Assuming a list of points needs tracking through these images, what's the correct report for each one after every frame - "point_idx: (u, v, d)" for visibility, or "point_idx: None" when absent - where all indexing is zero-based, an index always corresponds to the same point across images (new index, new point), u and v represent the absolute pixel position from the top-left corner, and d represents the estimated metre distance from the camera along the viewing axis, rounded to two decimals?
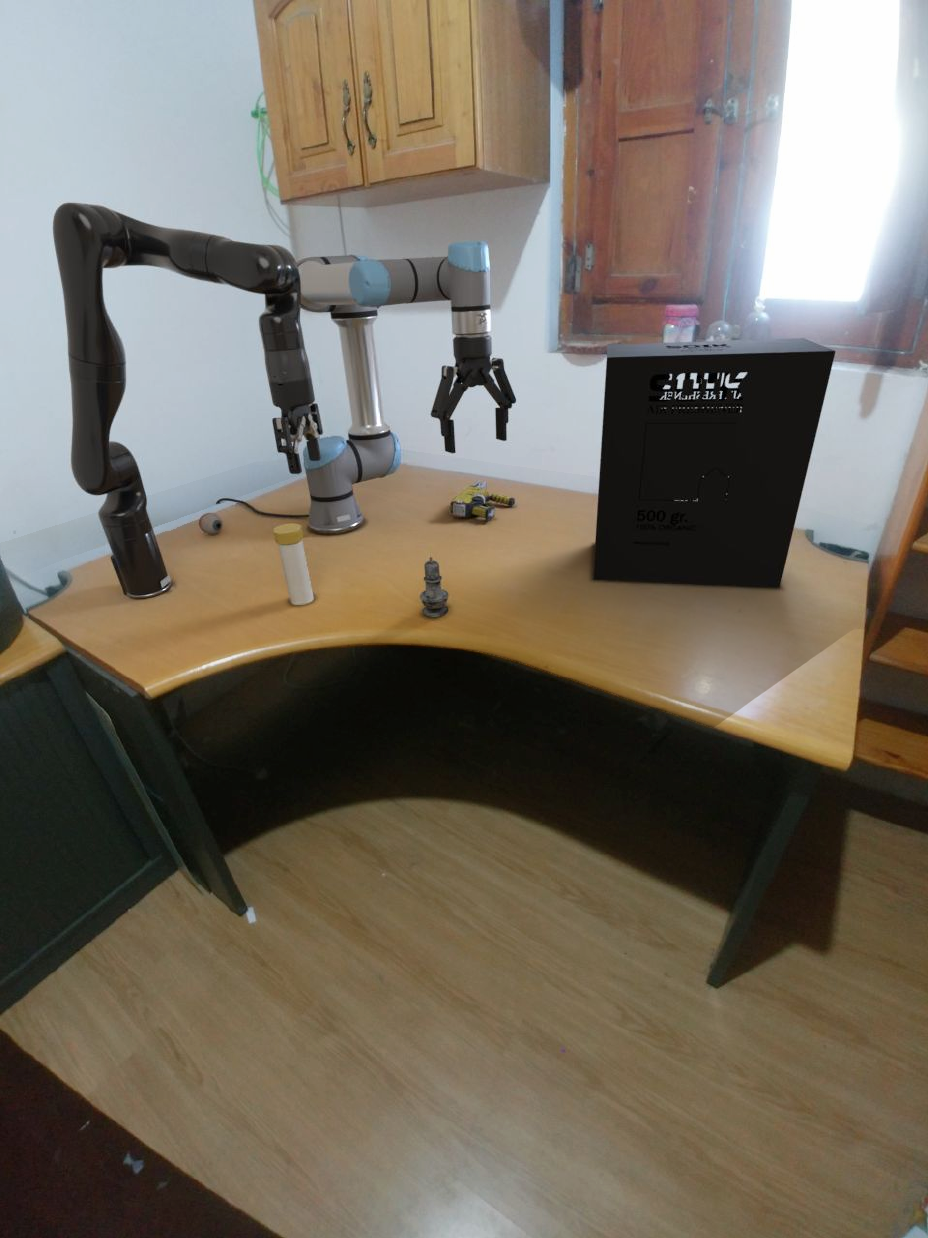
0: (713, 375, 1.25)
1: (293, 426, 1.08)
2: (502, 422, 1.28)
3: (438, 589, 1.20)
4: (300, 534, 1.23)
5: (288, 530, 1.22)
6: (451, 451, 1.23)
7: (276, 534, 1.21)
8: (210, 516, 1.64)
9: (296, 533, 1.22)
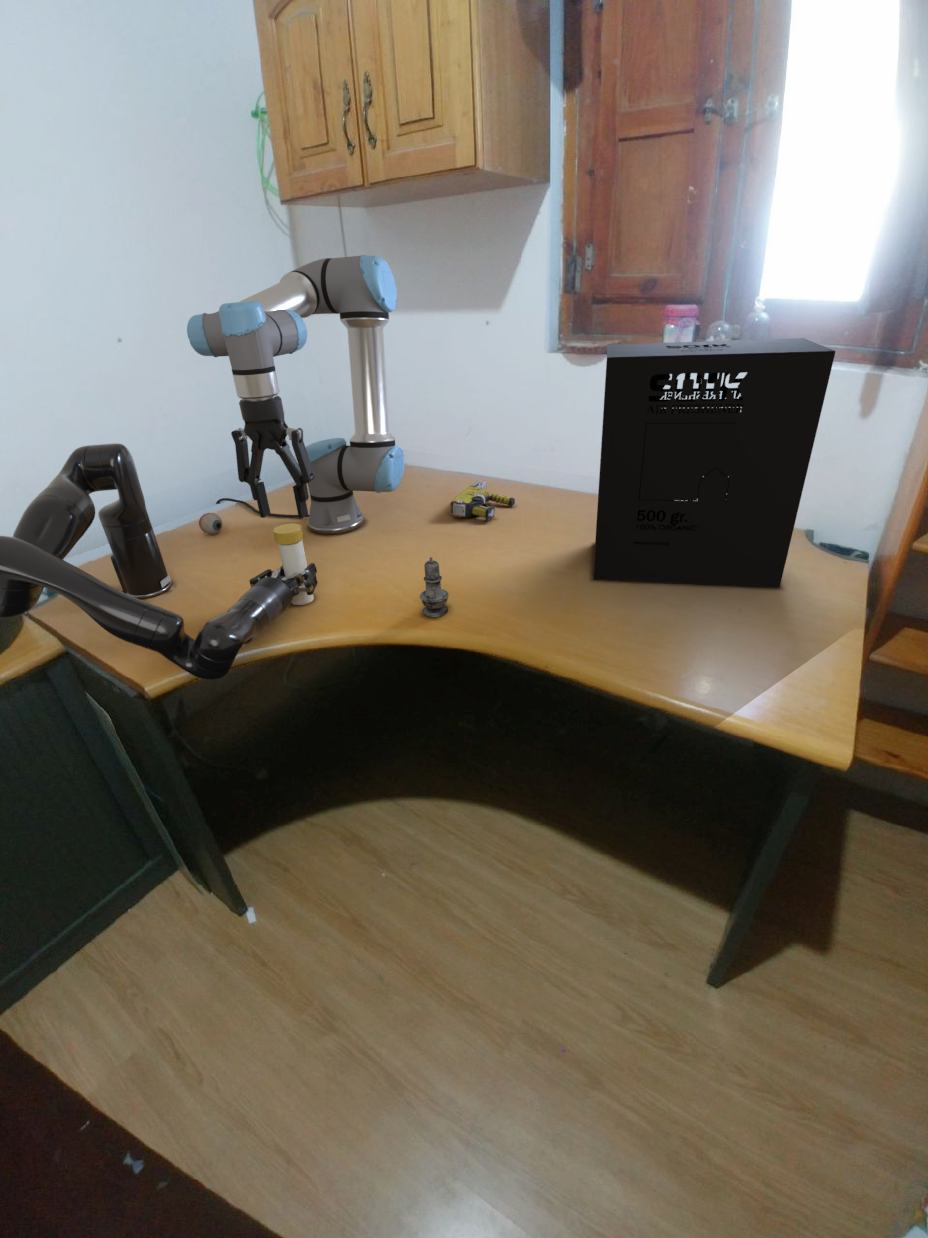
0: (713, 375, 1.25)
1: (297, 582, 1.21)
2: (265, 495, 1.21)
3: (438, 589, 1.20)
4: (300, 534, 1.23)
5: (288, 530, 1.22)
6: (307, 512, 1.21)
7: (276, 534, 1.21)
8: (210, 516, 1.64)
9: (296, 533, 1.22)
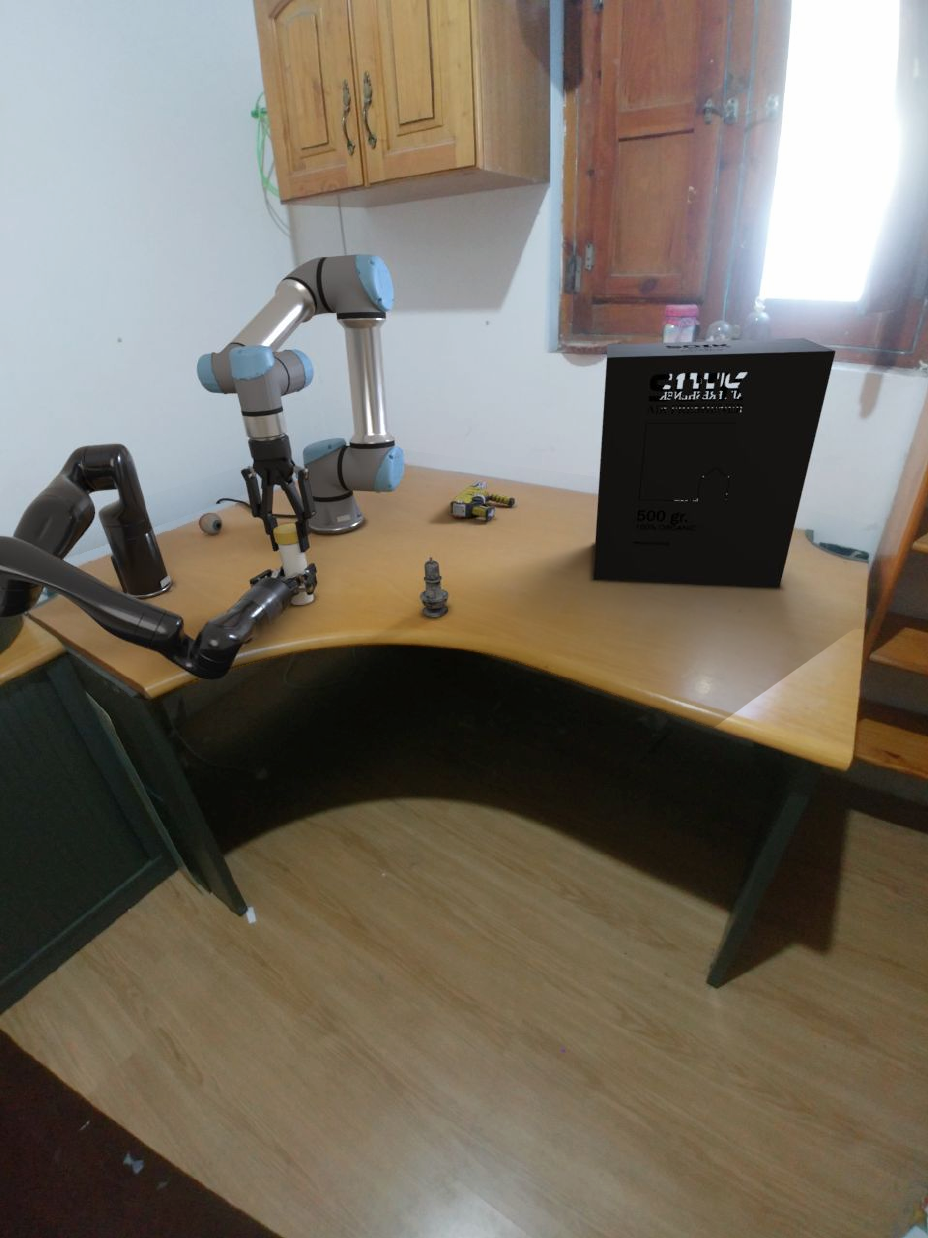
0: (713, 375, 1.25)
1: (297, 582, 1.21)
2: None
3: (438, 589, 1.20)
4: None
5: (288, 530, 1.22)
6: (309, 546, 1.25)
7: (276, 534, 1.21)
8: (210, 516, 1.64)
9: (296, 533, 1.22)
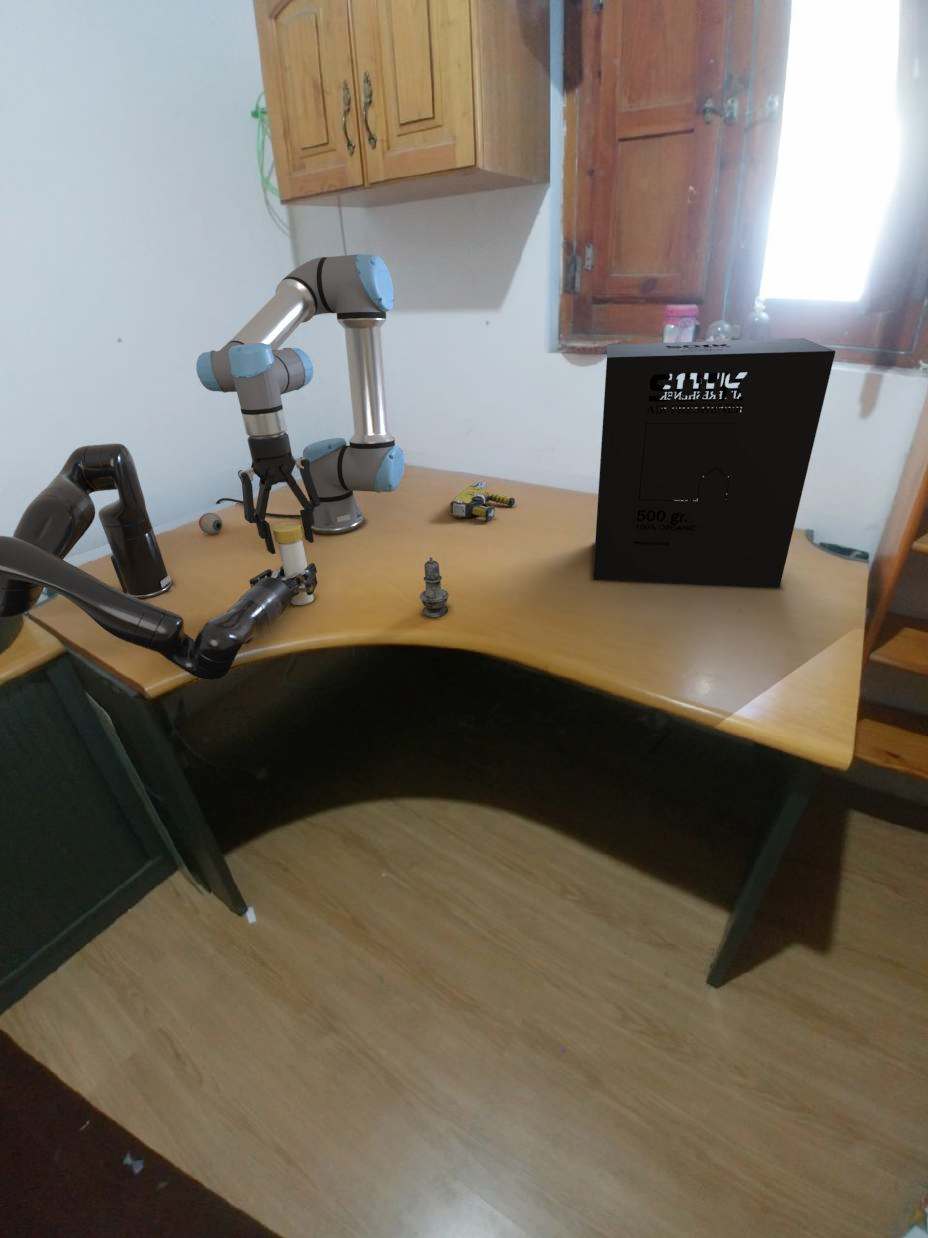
0: (713, 375, 1.25)
1: (297, 582, 1.21)
2: None
3: (438, 589, 1.20)
4: None
5: (292, 524, 1.23)
6: None
7: (298, 529, 1.22)
8: (210, 516, 1.64)
9: None
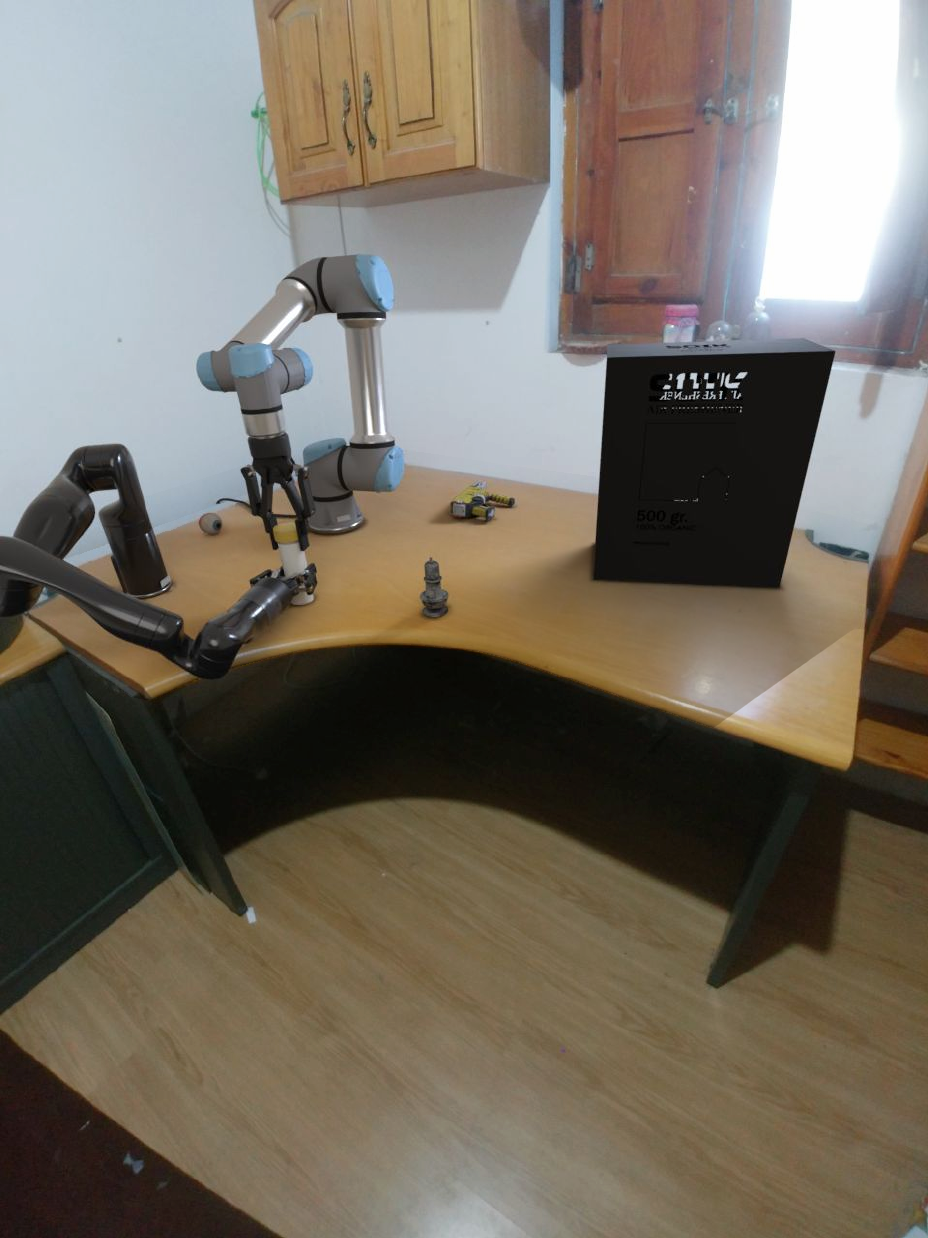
0: (713, 375, 1.25)
1: (297, 582, 1.21)
2: None
3: (438, 589, 1.20)
4: None
5: (292, 524, 1.23)
6: (308, 545, 1.25)
7: None
8: (210, 516, 1.64)
9: None
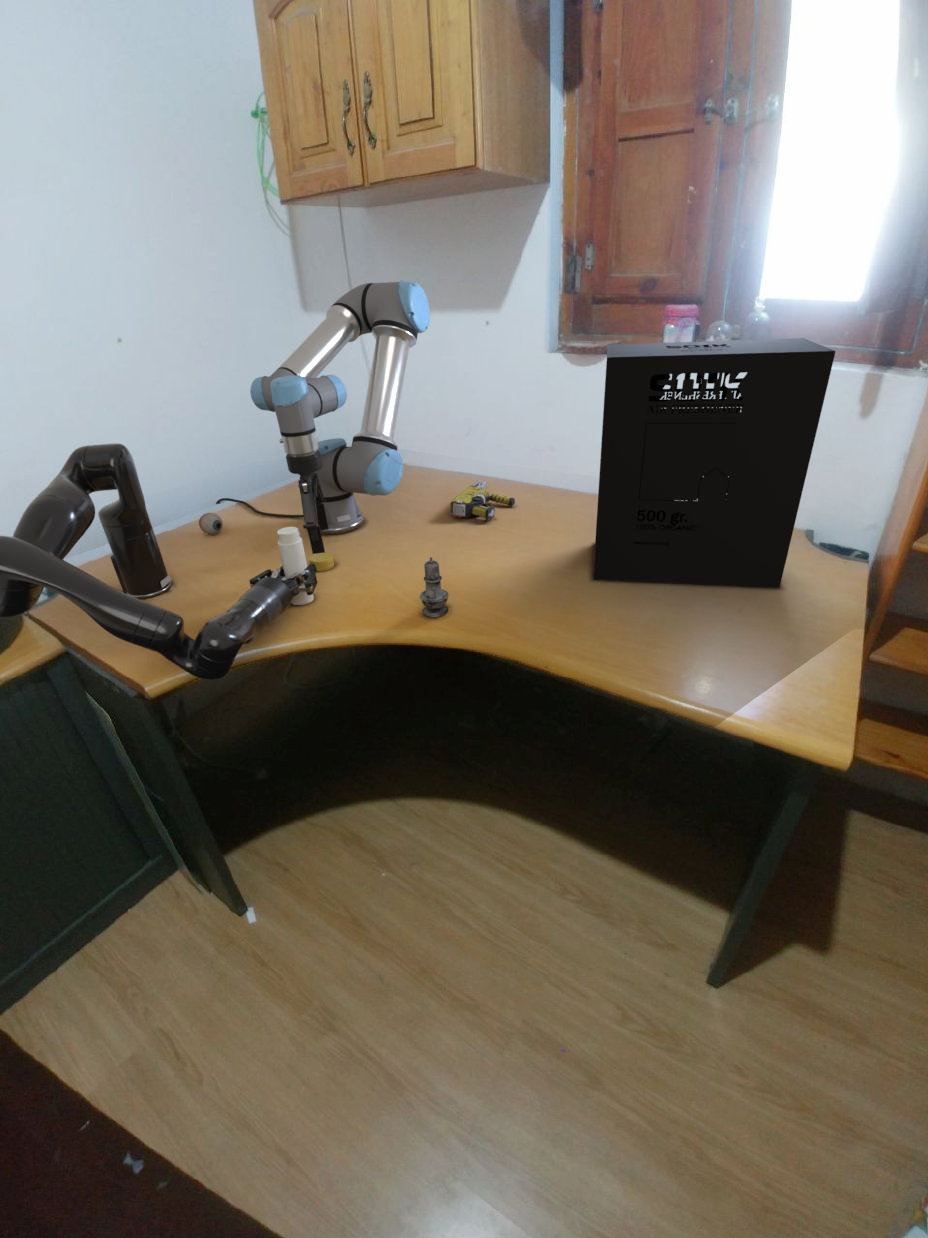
0: (713, 375, 1.25)
1: (297, 582, 1.21)
2: None
3: (438, 589, 1.20)
4: None
5: (316, 556, 1.45)
6: None
7: None
8: (210, 516, 1.64)
9: None
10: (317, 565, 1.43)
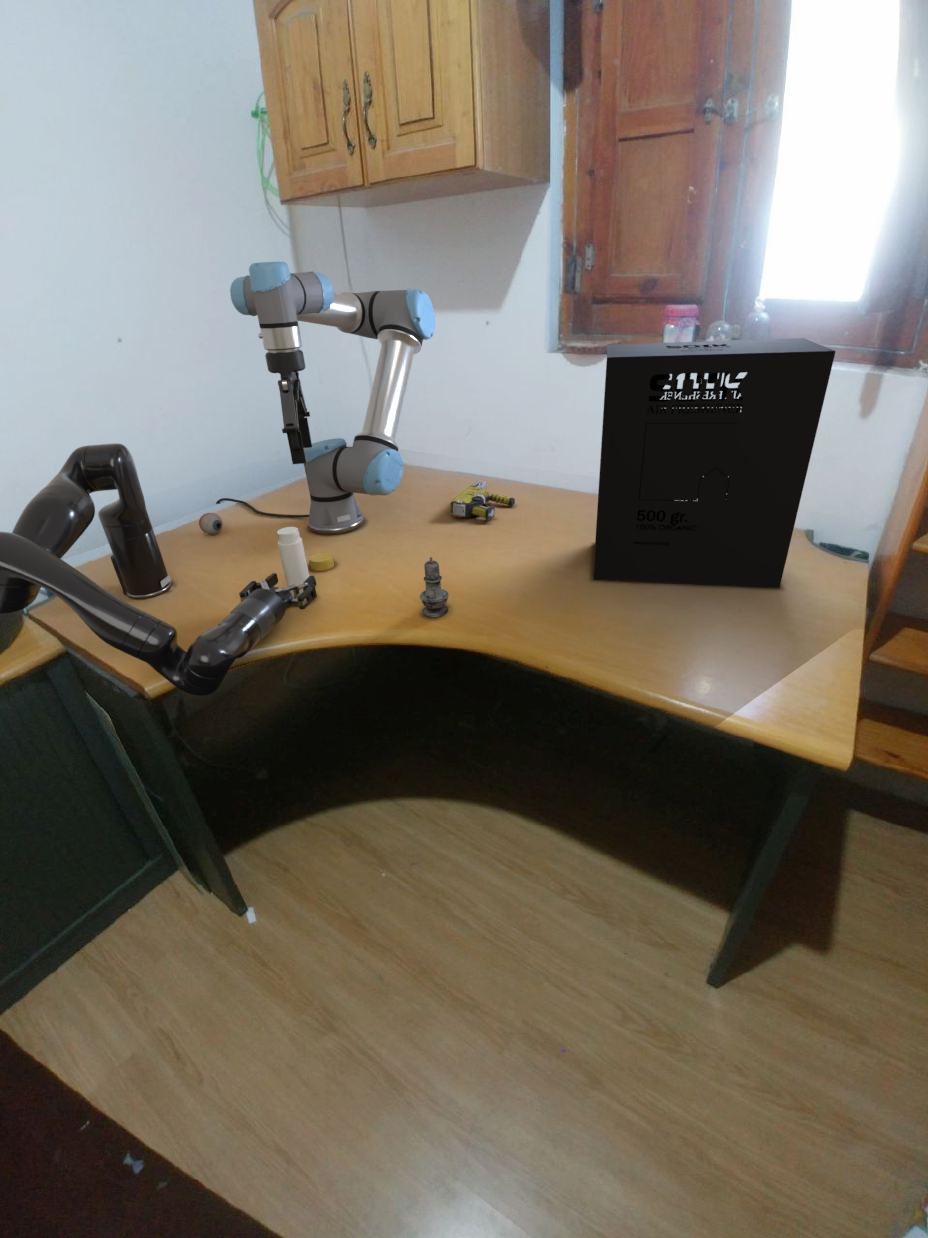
0: (713, 375, 1.25)
1: None
2: None
3: (438, 589, 1.20)
4: (310, 563, 1.44)
5: (316, 556, 1.45)
6: None
7: None
8: (210, 516, 1.64)
9: None
10: (317, 565, 1.43)
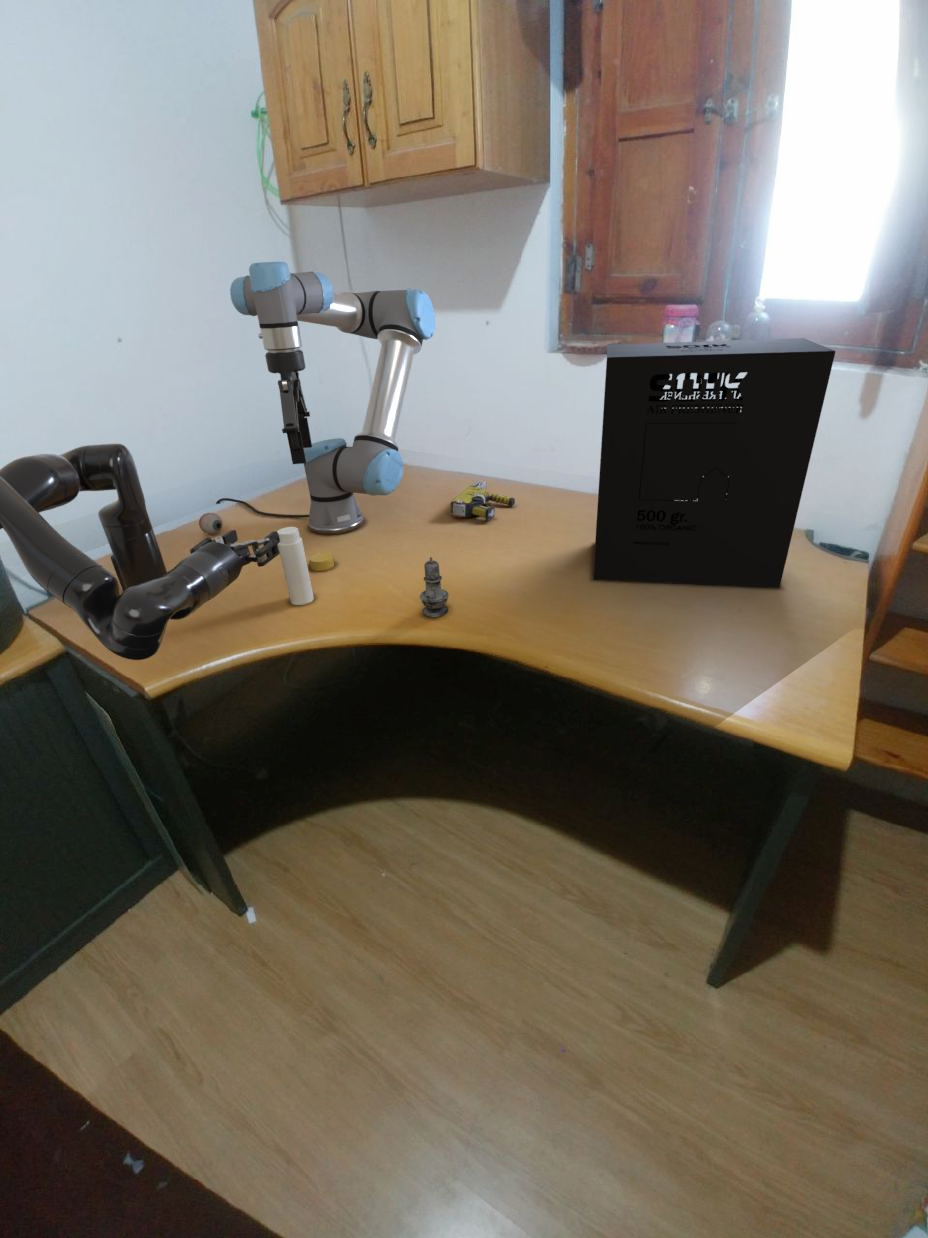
0: (713, 375, 1.25)
1: (248, 550, 1.04)
2: None
3: (438, 589, 1.20)
4: (310, 563, 1.44)
5: (316, 556, 1.45)
6: None
7: None
8: (210, 516, 1.64)
9: None
10: (317, 565, 1.43)
